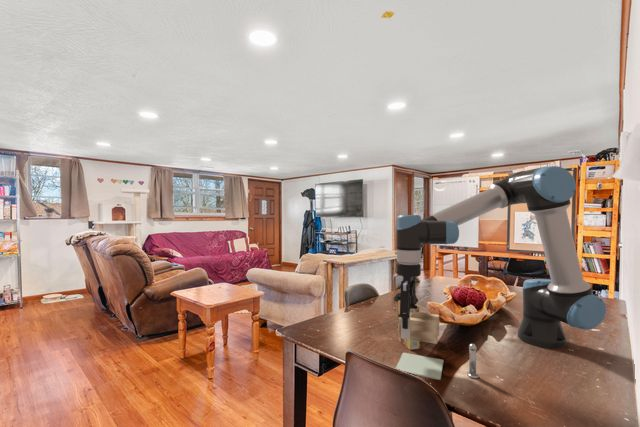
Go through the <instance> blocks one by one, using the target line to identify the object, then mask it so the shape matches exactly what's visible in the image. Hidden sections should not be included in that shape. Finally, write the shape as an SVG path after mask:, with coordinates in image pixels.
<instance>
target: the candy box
mask: <svg viewBox="0 0 640 427" xmlns="http://www.w3.org/2000/svg"><path fill="white" fill-rule="evenodd" d="M414 309H415V312H420V305H418V304H417V308H414ZM399 314H400V300H399V301H398V315H399ZM399 318H400V317H398V320H399ZM398 320H397V321H398ZM398 341H399V342H400V343H402V345H404V346H405V347H406V348H407V349H408V350H419V349H420V343H421V341H416V340H409V339H403V338H399V337H398Z"/></svg>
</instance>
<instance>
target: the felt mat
mask: <svg viewBox="0 0 640 427" xmlns="http://www.w3.org/2000/svg"><path fill="white" fill-rule="evenodd" d="M443 365H444V359H440V358H435V357H429V356H425V355H418V354H414V353H413V354H412V353H407V352H402V354H401V356H400V358H399V360H398V362H397V364H396V366H395V369H396V368H397V369H400V370H402V371H406V372H409V373H411V374H410V375H413V374H414V375H413V376H419V377H423V378H426V379H427V378H428V379H433V380H437V381H441V380H442V372H443V367H444V366H443Z"/></svg>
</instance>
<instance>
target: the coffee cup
mask: <svg viewBox="0 0 640 427" xmlns="http://www.w3.org/2000/svg"><path fill="white" fill-rule="evenodd" d="M400 296H401V292H399V293H396V294H395V296H394V298H393V300H394V302H395V309H396V320H397V326H398V327H397V328H398V330H399V320H398V301H399V300H400ZM418 302H419V299H418V298H417V297H416V305H418V304H417V303H418Z"/></svg>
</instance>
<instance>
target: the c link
mask: <svg viewBox="0 0 640 427" xmlns="http://www.w3.org/2000/svg"><path fill="white" fill-rule="evenodd" d="M405 314H406V313H405ZM439 336H440V314H435V313H428V312H420V311H419V312H413V311H410V340H416V341H420V342H423V343H427V344H428V343H430V344H434V345H438V337H439ZM399 338H401V317H400V318H399V329H398V339H399Z"/></svg>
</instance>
